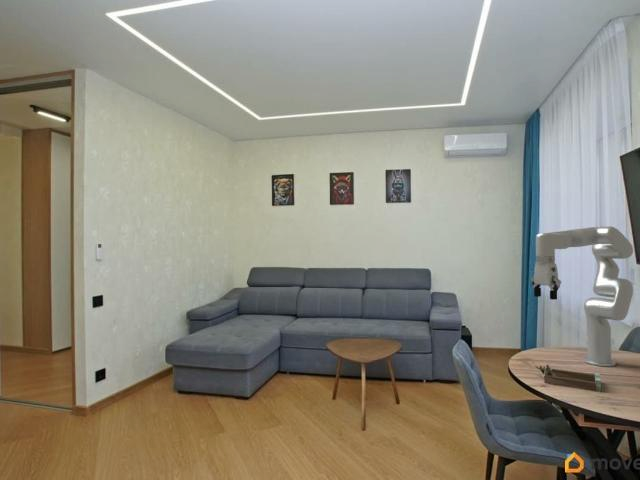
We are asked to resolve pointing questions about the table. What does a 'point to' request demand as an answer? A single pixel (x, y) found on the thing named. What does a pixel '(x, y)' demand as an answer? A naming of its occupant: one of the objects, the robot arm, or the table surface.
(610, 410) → the table surface
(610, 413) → the table surface
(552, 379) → the walnut guide
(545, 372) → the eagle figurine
